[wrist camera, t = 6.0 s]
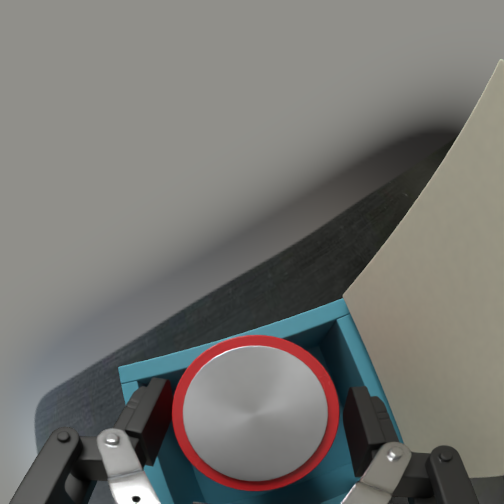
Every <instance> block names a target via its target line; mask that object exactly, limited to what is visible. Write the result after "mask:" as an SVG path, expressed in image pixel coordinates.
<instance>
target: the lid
mask: <svg viewBox="0 0 504 504" xmlns="http://www.w3.org/2000/svg"><path fill="white" fill-rule="evenodd" d="M343 298H344V301H345V303H346V305H347V307H348V309H349V311H350V314H351V316H352V318H353V320H354V322H355V325H356V327H357V329H358V331H359V334H360V336H361V338H362V340H363V343H364V345H365V347H366V350H367V352H368V354H369V356H370V359H371V361H372V364H373V366H374V368H375V371H376V373H377V375H378V378H379V380H380V383H381V385H382V388H383V390H384V393H385V395H386V398H387V400H388V403H389V405H390V408H391V410H392V413H393V415H394V418H395V421H396V423H397V426H398V429H399V431H400V434H401V437H402V439H403V442H404V444H405V445H406V446H408V448H409V449H410V450H411V451H412V452H417V453H431V452H432V450H433V449H434V448H436V447H438V446H441V445H447V446H451V447H453V448H455V449H456V450H457V451H458V453H459V455H460V457H461V459H462V462H463V464H464V467H465V469H466V471H467V474H468V476H469V478H480V477H495V476H504V60H502V59H500V61H499V62H498V64H497V66H496V68H495V71H494V72H493V74H492V76H491V78H490V80H489V82H488V84H487V86H486V88H485V90H484V92H483V94H482V95H481V98H480V99H479V101H478V103H477V105H476V106H475V108H474V110H473V112H472V114H471V116H470V117H469V119H468V120H467V122H466V124H465V126H464V127H463V129H462V131H461V132H460V134H459V136H458V137H457V139H456V141H455V142H454V144H453V145H452V147H451V149H450V150H449V152H448V153H447V155H446V157H445V158H444V160H443V161H442V163H441V164H440V166H439V167H438V169H437V171H436V172H435V174H434V175H433V177H432V178H431V180H430V181H429V183H428V184H427V185H426V187H425V188H424V190H423V191H422V193H421V194H420V196H419V197H418V199H417V200H416V201H415V203H414V204H413V206H412V207H411V208H410V210H409V211H408V213H407V214H406V215H405V217H404V218H403V219H402V221H401V222H400V224H399V225H398V226H397V228H396V229H395V230H394V232H393V233H392V234H391V236H390V237H389V238H388V240H387V241H386V242H385V243H384V245H383V246H382V247H381V249H380V250H379V251H378V253H377V254H376V255H375V256H374V258H373V259H372V260H371V261H370V263H369V264H368V265H367V266H366V268H365V269H364V270H363V271H362V273H361V274H360V275H359V276H358V277H357V279H356V280H355V281H354V282H353V284H352V285H351V286H350V287H349V288H348V290H347V291H346V292H345V293H344V294H343Z"/></svg>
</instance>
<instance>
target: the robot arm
mask: <svg viewBox="0 0 504 504" xmlns="http://www.w3.org/2000/svg"><path fill="white" fill-rule="evenodd" d="M172 403H173V395H172V389H171V383H170V380H169V379H163V378H156V377H153V378H152V379H151V381H150V383H149V384H148V386H147V387H145V386H141V387H140V388H138V389H137V390H136V391H134V392H133V394H132V396H131V397H130V399H129V401H128V402H127V404H126V407H125V408H124V409H123V411H122V413H121V414H120V416H119V418H118V420H117V421H116V423H115V425H114V427H113V428H111V429H107V430H104V431H102V432H101V433H100V434H99V435H98V436H97V437H87V436H79V434H78V432H77V431H76V430H75V429H73V428H71V427H61V428H58V429H56V430H54V431H53V432H52V434H51V435H50V437H49V438H48V440H47V441H46V443H45V444H44V446H43V448H42V449H41V451H40V452H39V454H38V456H37V457H36V459H35V461H34V462H33V464H32V466H31V467H30V469H29V471H28V472H27V474H26V475H25V477H24V479H23V481H22V482H21V484H20V486H19V487H18V489H17V491H16V492H15V494H14V496H13V498H12V499H11V501H10V503H9V504H88V502H89V499H90V497H91V495H92V492H93V490H94V487H95V485H96V483H97V481H108V484H109V487H110V489H111V492H112V494H113V497H114V500H115V502H116V504H161V502H160V500H159V498H158V497H157V495H156V493H155V491H154V489H153V487H152V485H151V483H150V481H149V479H148V477H147V475H146V473H145V471H144V466H145V465H147V466H152V467H153V466H154V463H155V461H156V458H157V456H158V453H159V450H160V448H161V445H162V443H163V440H164V437H165V435H166V432H167V430H168V427H169V425H170V422H171V420H172ZM343 425H344V430H345V434H346V438H347V443H348V448H349V452H350V457H351V462H352V466H353V471H354V476H355V477H361V478H360V480H359V481H357V482H356V483H355V485H354V486H353V487H352V489H351V490H350V491H349V493H348V494H347V495H346V497H345V498H344V499H343V501H342V502H341V503H340V504H388V502H389V501H390V499H391V497H392V496H396V497H408V501H409V504H479V502H478V500H477V497H476V494H475V492H474V489H473V486H472V484H471V481H470V479H469V476H468V474H467V471H466V469H465V467H464V464H463V462H462V459H461V457H460V455H459V453H458V451H457V450H456V449H455V448H453V447H451V446H447V445H441V446H438V447H436V448H434V449H433V450H432V452H431V453H417V452H412V451H411V450H410V449H409V448H408V446H406V445H405V444H403V443H400V442H399V439H398V436H397V434H396V431H395V429H394V426H393V424H392V421H391V419H390V416H389V414H388V412H387V409H386V406H385V404H384V402H383V401H382V400H381V399H380V398H379V397H378V396H370V394H369V391H368V388H367V387H366V386H357V387H350V388H349V390H348V394H347V398H346V402H345V406H344V410H343ZM193 504H208V503H201V502H194V501H193Z"/></svg>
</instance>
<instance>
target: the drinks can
mask: <svg viewBox="0 0 504 504" xmlns="http://www.w3.org/2000/svg"><path fill="white" fill-rule="evenodd" d="M339 417H340V412H339V401H338V395H337V392H336V389H335V386H334V384H333V381H332V379H331V377H330V376H329V374H328V372H327V371H326V369H325V368H324V367H323V366H322V364H321V363H320V362H319V361H318V360H317V359H316V358H315V357H314V356H313V355H312V354H310V353H309V352H308V351H306V350H305V349H303V348H302V347H300V346H298V345H296V344H294V343H292V342H290V341H287V340H284V339H282V338H277V337H273V336H266V335H246V336H239V337H235V338H230V339H227V340H225V341H222V342H220V343H218V344H216V345H214V346H212V347H210V348H209V349H207V350H206V351H204V352H203V353H201V354H200V355H199V356H198V357H197V358H196V359H195V360H194V361H193V362H192V363H191V364H190V365H189V366H188V368H187V369H186V371H185V372H184V374H183V375H182V377H181V379H180V381H179V383H178V385H177V388H176V391H175V394H174V398H173V403H172V423H173V428H174V433H175V436H176V439H177V441H178V444H179V446H180V448H181V450H182V451H183V453H184V455H185V456H186V457H187V459H188V460H189V461H190V463H191V464H192V465H193V466H194V467H195V468H196V469H197V470H199V471H200V472H201V473H202V474H204V475H205V476H206V477H208V478H210V479H211V480H213V481H215V482H217V483H219V484H221V485H224V486H226V487H230V488H233V489H237V490H244V491H267V490H274V489H278V488H282V487H284V486H287V485H290V484H292V483H294V482H296V481H298V480H300V479H302V478H303V477H305V476H306V475H307V474H309V473H310V472H311V471H313V470H314V469H315V468H316V467H317V466H318V465H319V464H320V463H321V461H322V460H323V459H324V458H325V456H326V455H327V453H328V452H329V450H330V448H331V446H332V444H333V442H334V439H335V437H336V434H337V430H338V426H339Z"/></svg>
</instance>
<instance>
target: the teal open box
mask: <svg viewBox="0 0 504 504" xmlns="http://www.w3.org/2000/svg"><path fill="white" fill-rule="evenodd" d="M246 335H266V336H273V337H277V338H282V339H284V340H287V341H290V342H292V343H294V344H296V345H298V346H300V347H302V348H303V349H305V350H306V351H308V352H309V353H310V354H312V355H313V356H314V357H315V358H316V359H317V360H318V361H319V362H320V363H321V364H322V366H323V367H324V368H325V369H326V371H327V372H328V374H329V376H330V377H331V379H332V381H333V384H334V386H335V389H336V392H337V395H338V401H339V412H340V417H339V426H338V430H337V434H336V437H335V439H334V442H333V444H332V446H331V448H330V450H329V452H328V453H327V455H326V456H325V458H324V459H323V460H322V461H321V463H320V464H319V465H318V466H317V467H316V468H315V469H314V470H313V471H311V472H310V473H309V474H307V475H306V476H305V477H303V478H302V479H300V480H298V481H296V482H294V483H292V484H290V485H287V486H284V487H282V488H278V489H274V490H267V491H244V490H237V489H233V488H230V487H226V486H224V485H221V484H219V483H217V482H215V481H213V480H211V479H210V478H208V477H206V476H205V475H204V474H202V473H201V472H200V471H199V470H197V469H196V468H195V467H194V466H193V465H192V464H191V463H190V461H189V460H188V459H187V457H186V456H185V455H184V453H183V451H182V450H181V448H180V446H179V444H178V441H177V439H176V436H175V433H174V428H173V423H172V420H171V422H170V425H169V427H168V430H167V432H166V435H165V437H164V440H163V443H162V445H161V448H160V450H159V453H158V456H157V458H156V461H155V463H154V466H153V467H152V466H147V465H145V466H144V471H145V473H146V475H147V477H148V479H149V481H150V483H151V485H152V487H153V489H154V491H155V493H156V495H157V497H158V498H159V500H160V502H161V504H193V501H194V502H201V503H208V504H340V503H341V502H342V501H343V499H344V498H345V497H346V495H347V494H348V493H349V491H350V490H351V489H352V487H353V486H354V485H355V483H356V482H357V481H359V480H360V478H361V477H355V476H354V471H353V466H352V462H351V457H350V452H349V448H348V443H347V438H346V434H345V430H344V425H343V410H344V406H345V402H346V398H347V394H348V390H349V388H350V387H357V386H366V387H367V388H368V391H369V394H370V396H378V397H379V398H380V399H381V400H382V401H383V402H384V404H385V406H386V409H387V412H388V414H389V416H390V419H391V421H392V424H393V426H394V429H395V431H396V434H397V436H398V439H399V442H400V443H403V444H404V442H403V439H402V437H401V434H400V431H399V429H398V426H397V423H396V421H395V418H394V415H393V413H392V410H391V408H390V405H389V403H388V400H387V398H386V395H385V393H384V390H383V388H382V385H381V383H380V380H379V378H378V375H377V373H376V371H375V368H374V366H373V364H372V361H371V359H370V356H369V354H368V352H367V350H366V347H365V345H364V343H363V340H362V338H361V336H360V334H359V331H358V329H357V327H356V325H355V322H354V320H353V318H352V316H351V314H350V311H349V309H348V307H347V305H346V303H345V301H344V298H342V299H340V300H337V301H334V302H332V303H329V304H326V305H324V306H321V307H318V308H315V309H313V310H310V311H307V312H304V313H301V314H298V315H296V316H293V317H290V318H287V319H284V320H281V321H278V322H275V323H272V324H269V325H266V326H263V327H260V328H257V329H254V330H251V331H248V332H244V333H241V334H238V335H235V336H232V337H228V338H225V339H222V340H218V341H215V342H212V343H208V344H205V345H201V346H198V347H194V348H191V349H187V350H183V351H180V352H176V353H172V354H169V355H165V356H161V357H157V358H153V359H149V360H145V361H141V362H137V363H133V364H129V365H125V366H121V367H118V370H119V375H120V380H121V383H122V385H121V386H122V390H123V395H124V399H125V404H127V402H128V401H129V399H130V397H131V396H132V394H133V392H134V391H136V390H137V389H138V388H140V387H141V386H145V387H147V386H148V384H149V383H150V381H151V379H152V378H153V377H156V378H163V379H169V380H170V383H171V389H172V395H173V398H174V394H175V391H176V388H177V385H178V383H179V381H180V379H181V377H182V375H183V374H184V372H185V371H186V369H187V368H188V366H189V365H190V364H191V363H192V362H193V361H194V360H195V359H196V358H197V357H198V356H199V355H200V354H201V353H203V352H204V351H206V350H207V349H209V348H210V347H212V346H214V345H216V344H218V343H220V342H222V341H225V340H227V339H230V338H235V337H239V336H246Z"/></svg>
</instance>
